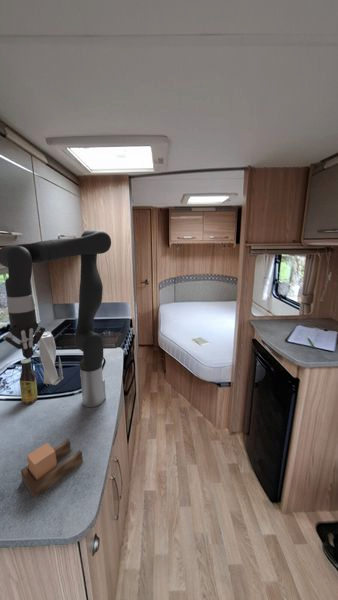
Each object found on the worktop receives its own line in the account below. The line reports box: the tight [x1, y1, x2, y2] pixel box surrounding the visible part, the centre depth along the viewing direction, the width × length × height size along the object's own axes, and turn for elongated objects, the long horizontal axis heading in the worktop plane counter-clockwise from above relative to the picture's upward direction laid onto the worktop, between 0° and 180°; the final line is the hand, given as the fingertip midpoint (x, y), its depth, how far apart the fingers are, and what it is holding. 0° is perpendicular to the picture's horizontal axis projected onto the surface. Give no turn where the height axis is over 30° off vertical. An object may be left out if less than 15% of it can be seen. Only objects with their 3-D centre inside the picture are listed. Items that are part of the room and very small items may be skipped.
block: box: [26, 442, 58, 481], centre depth 74 cm, size 6×5×9 cm
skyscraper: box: [38, 331, 65, 386], centre depth 123 cm, size 8×8×28 cm
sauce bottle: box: [19, 358, 38, 405], centre depth 109 cm, size 6×6×20 cm
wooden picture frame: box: [20, 438, 84, 499], centre depth 77 cm, size 15×8×4 cm, turn 142°
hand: (28, 357), depth 84 cm, fingers closed
